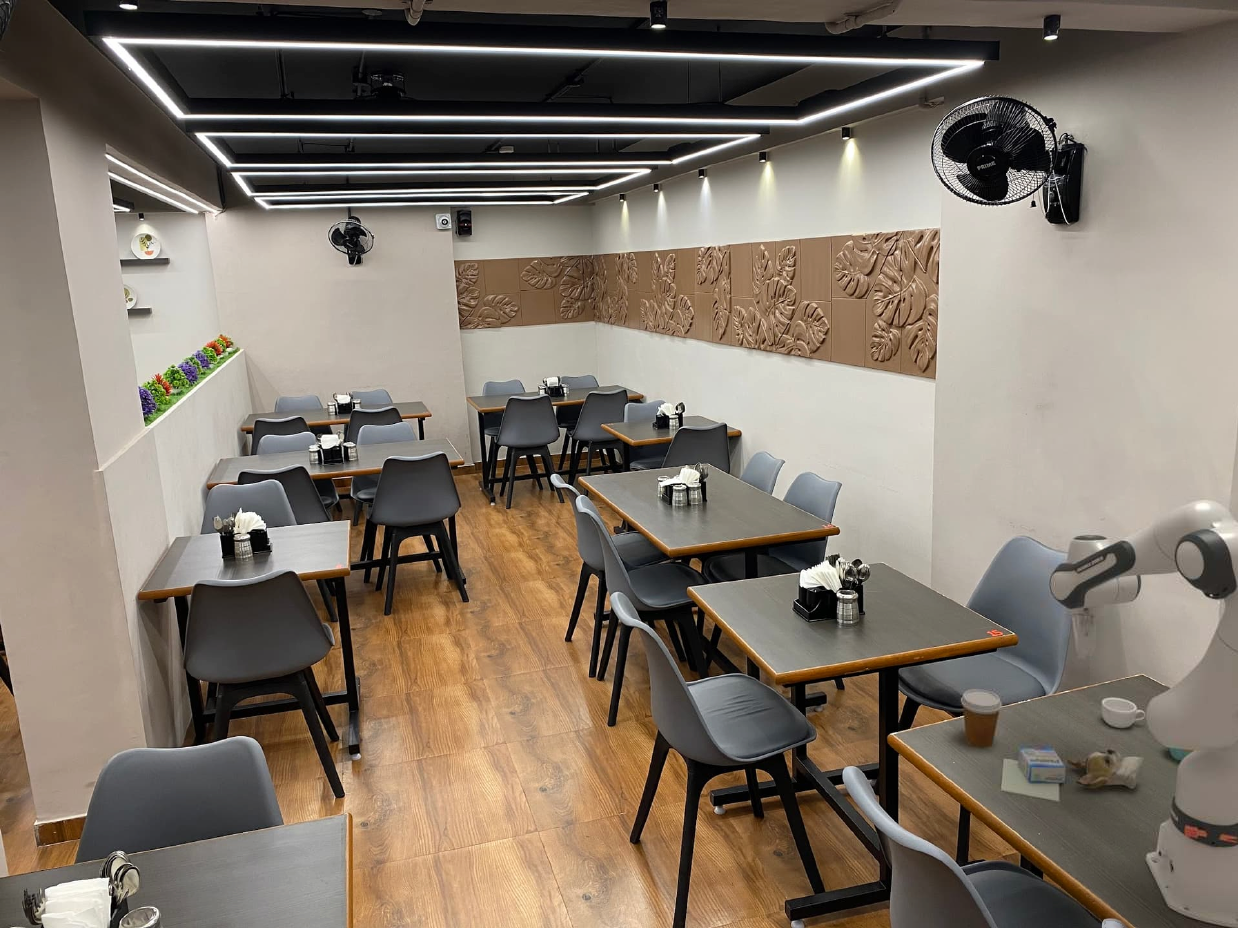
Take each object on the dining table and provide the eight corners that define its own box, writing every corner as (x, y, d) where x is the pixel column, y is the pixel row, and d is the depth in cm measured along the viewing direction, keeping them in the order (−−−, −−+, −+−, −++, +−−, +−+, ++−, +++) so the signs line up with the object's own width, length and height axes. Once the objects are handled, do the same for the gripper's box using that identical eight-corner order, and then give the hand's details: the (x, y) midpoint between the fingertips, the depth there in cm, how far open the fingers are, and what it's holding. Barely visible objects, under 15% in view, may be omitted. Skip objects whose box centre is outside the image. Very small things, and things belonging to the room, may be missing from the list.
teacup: (1102, 729, 229) (1104, 709, 228) (1098, 714, 236) (1099, 695, 235) (1147, 734, 226) (1149, 714, 224) (1141, 719, 233) (1143, 700, 231)
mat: (1059, 801, 200) (1059, 800, 200) (1000, 790, 206) (1001, 789, 205) (1058, 769, 213) (1058, 767, 213) (1003, 759, 218) (1003, 758, 218)
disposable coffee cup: (983, 754, 220) (985, 710, 217) (951, 738, 228) (952, 695, 225) (1008, 743, 225) (1010, 699, 222) (976, 727, 233) (978, 684, 230)
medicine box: (1052, 746, 214) (1066, 766, 205) (1051, 763, 215) (1065, 783, 206) (1017, 746, 215) (1030, 766, 206) (1016, 763, 216) (1029, 783, 207)
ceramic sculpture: (1150, 763, 198) (1075, 760, 202) (1150, 799, 200) (1075, 795, 204) (1137, 739, 208) (1066, 736, 212) (1136, 773, 210) (1066, 769, 214)
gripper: (1104, 620, 198) (1099, 677, 201) (1097, 587, 216) (1093, 641, 219) (1072, 616, 200) (1068, 673, 204) (1068, 585, 219) (1064, 637, 222)
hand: (1081, 656), depth 212 cm, fingers closed
